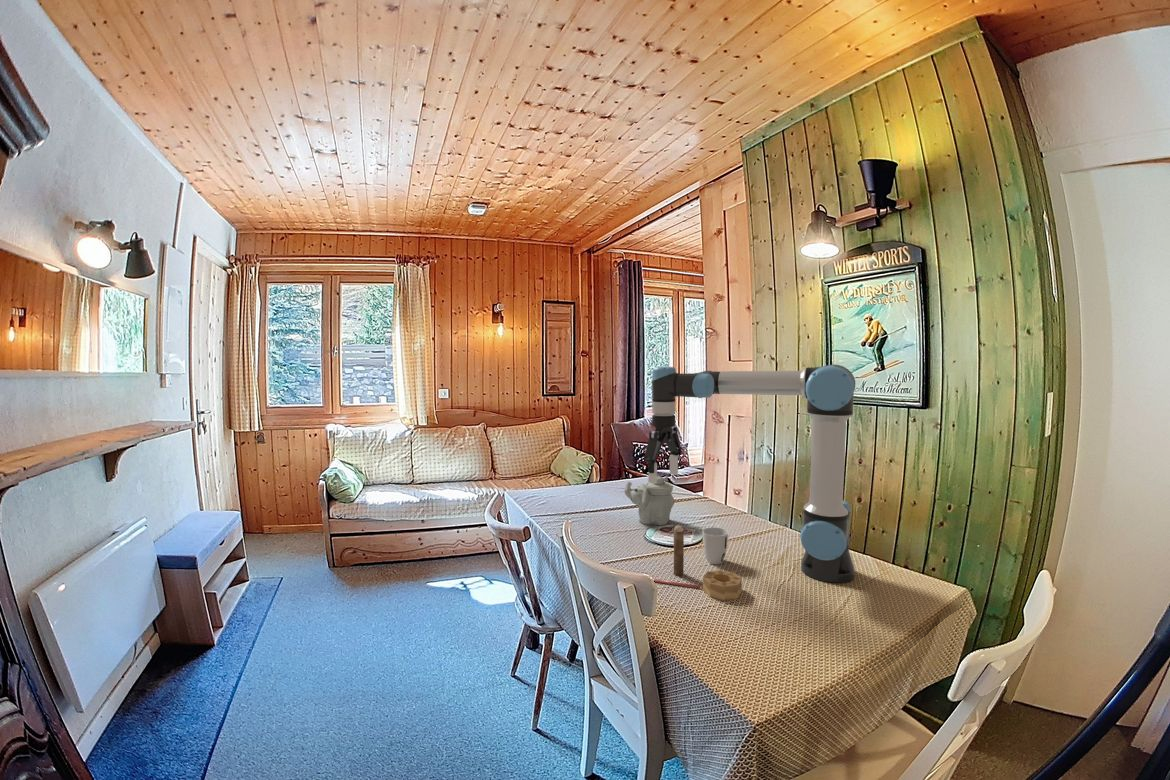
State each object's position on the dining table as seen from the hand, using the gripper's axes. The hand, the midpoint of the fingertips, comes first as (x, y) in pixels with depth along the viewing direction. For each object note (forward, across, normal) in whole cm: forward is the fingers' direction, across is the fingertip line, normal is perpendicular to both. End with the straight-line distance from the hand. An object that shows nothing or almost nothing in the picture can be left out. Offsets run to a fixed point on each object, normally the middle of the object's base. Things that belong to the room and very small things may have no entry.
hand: (663, 478), depth 175 cm
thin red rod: (+27, +15, +13) cm, 34 cm away
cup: (+27, -8, +14) cm, 32 cm away
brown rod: (+27, +8, +10) cm, 30 cm away
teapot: (+28, -29, -24) cm, 47 cm away
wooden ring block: (+27, +10, +25) cm, 39 cm away
